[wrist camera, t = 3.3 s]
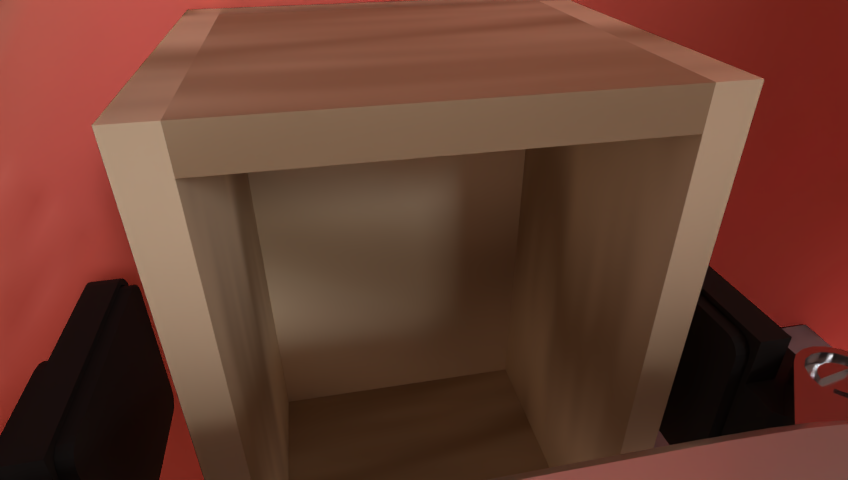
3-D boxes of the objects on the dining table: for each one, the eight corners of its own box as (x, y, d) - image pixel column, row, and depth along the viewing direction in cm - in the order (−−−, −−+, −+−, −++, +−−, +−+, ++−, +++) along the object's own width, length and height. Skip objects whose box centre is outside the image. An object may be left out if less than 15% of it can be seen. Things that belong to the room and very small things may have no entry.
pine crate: (187, 9, 10) (91, 124, 5) (556, -5, 12) (764, 78, 6) (268, 404, 16) (259, 650, 11) (517, 367, 17) (615, 573, 12)
